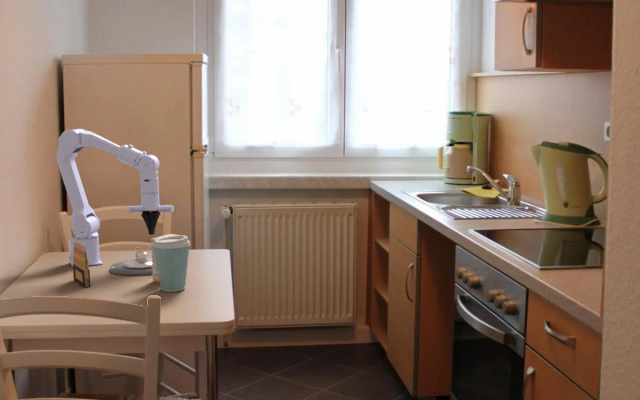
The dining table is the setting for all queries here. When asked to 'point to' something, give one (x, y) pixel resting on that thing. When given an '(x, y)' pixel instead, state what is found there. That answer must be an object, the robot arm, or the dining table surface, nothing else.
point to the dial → (139, 260)
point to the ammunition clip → (81, 266)
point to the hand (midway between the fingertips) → (151, 234)
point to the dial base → (129, 270)
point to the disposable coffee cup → (172, 261)
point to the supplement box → (154, 266)
